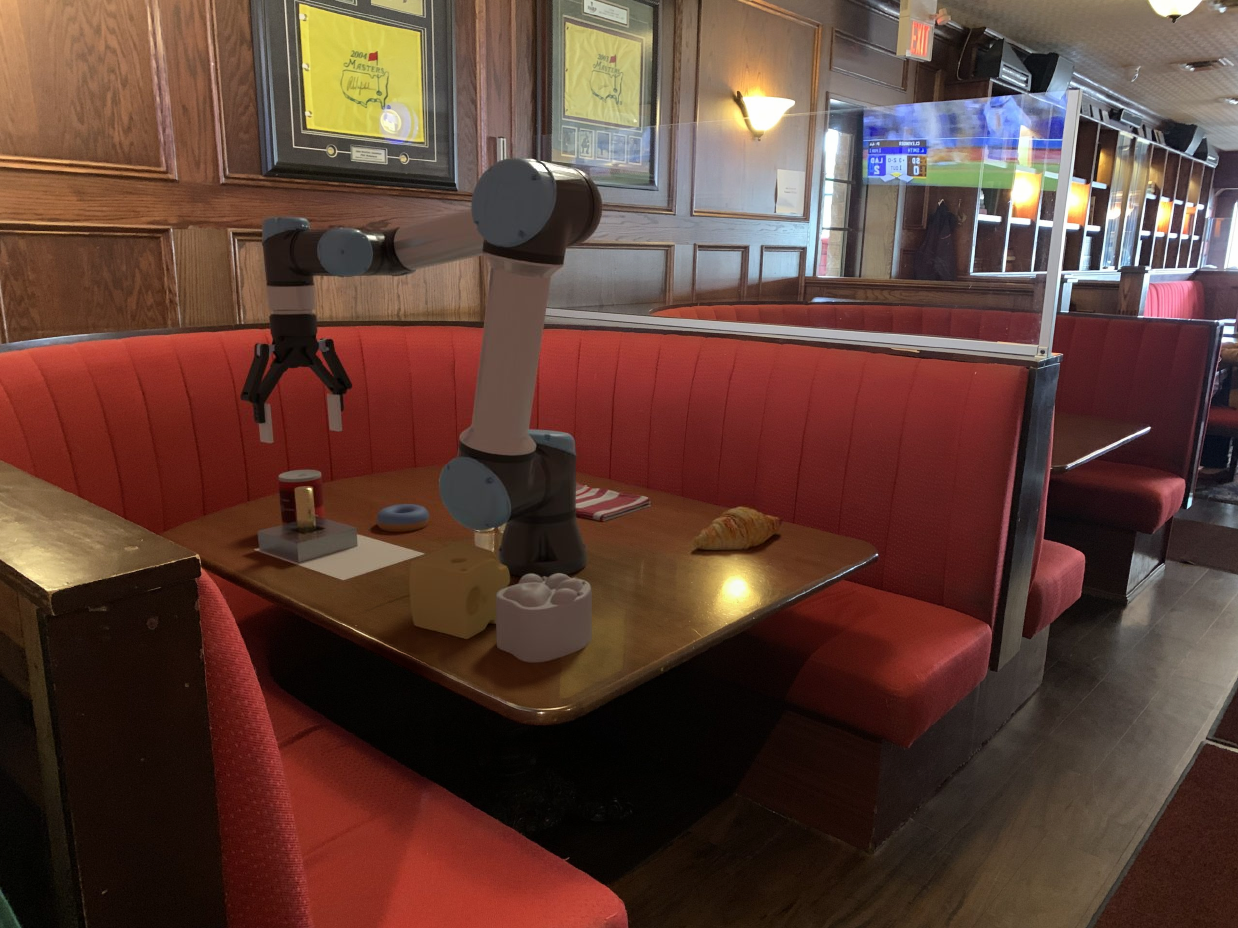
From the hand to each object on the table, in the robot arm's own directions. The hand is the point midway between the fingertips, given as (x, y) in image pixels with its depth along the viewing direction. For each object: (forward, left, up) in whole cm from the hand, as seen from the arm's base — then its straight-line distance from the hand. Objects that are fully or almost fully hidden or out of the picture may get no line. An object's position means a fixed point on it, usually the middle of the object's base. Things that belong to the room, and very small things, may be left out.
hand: (302, 436), depth 155 cm
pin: (0, 0, -20) cm, 20 cm away
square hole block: (0, 0, -20) cm, 20 cm away
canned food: (+12, -7, -21) cm, 25 cm away
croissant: (-58, -51, -21) cm, 80 cm away
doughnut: (-1, -19, -21) cm, 29 cm away
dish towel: (-19, -55, -22) cm, 62 cm away
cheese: (-46, +6, -21) cm, 51 cm away
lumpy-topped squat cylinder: (-60, +4, -21) cm, 64 cm away
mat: (-6, -2, -21) cm, 22 cm away
